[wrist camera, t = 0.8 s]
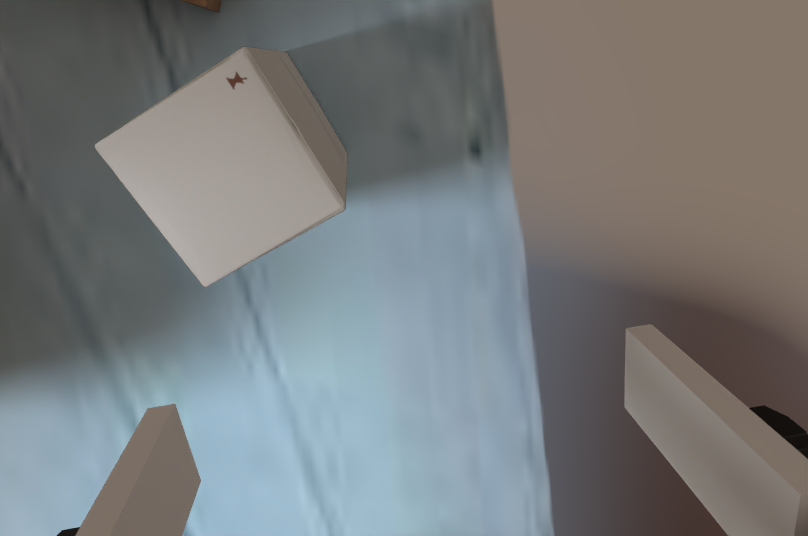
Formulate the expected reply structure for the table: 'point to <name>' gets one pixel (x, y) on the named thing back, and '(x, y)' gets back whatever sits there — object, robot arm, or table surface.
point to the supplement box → (232, 162)
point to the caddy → (206, 4)
